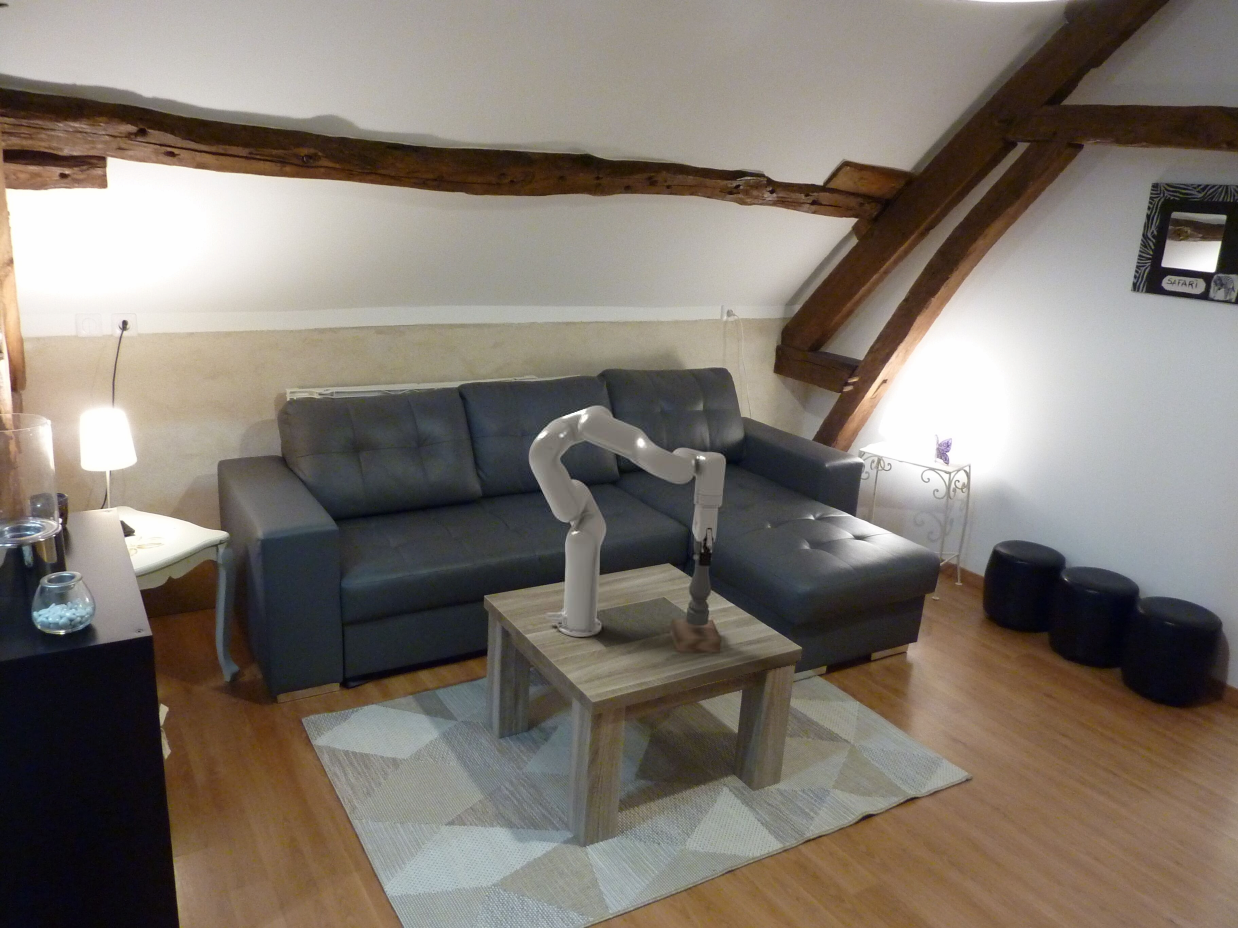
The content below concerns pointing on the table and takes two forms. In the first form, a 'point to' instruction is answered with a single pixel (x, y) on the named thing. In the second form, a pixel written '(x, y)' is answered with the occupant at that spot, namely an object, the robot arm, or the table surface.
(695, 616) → the candle holder
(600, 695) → the table surface
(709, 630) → the walnut plinth
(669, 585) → the table surface
